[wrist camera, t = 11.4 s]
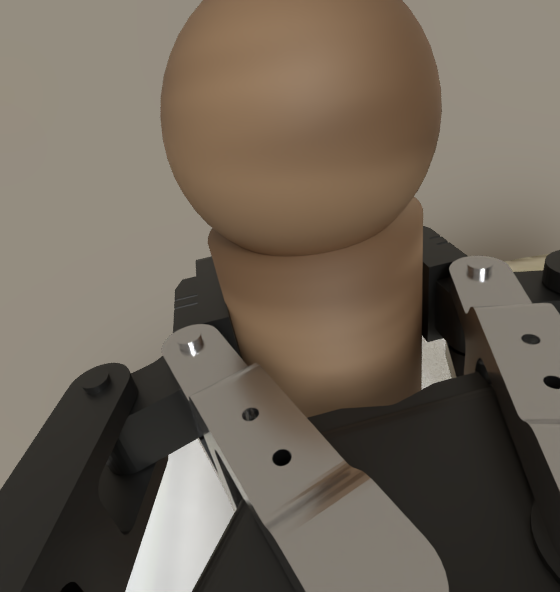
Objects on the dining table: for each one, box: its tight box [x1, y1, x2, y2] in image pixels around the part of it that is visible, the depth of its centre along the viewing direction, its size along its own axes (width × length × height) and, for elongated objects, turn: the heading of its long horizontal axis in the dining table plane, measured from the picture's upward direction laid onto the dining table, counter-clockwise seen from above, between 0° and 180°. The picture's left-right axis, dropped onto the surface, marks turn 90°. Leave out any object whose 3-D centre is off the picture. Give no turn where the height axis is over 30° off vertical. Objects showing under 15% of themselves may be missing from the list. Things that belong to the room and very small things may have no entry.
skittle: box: [161, 0, 442, 418], centre depth 11 cm, size 5×5×16 cm
